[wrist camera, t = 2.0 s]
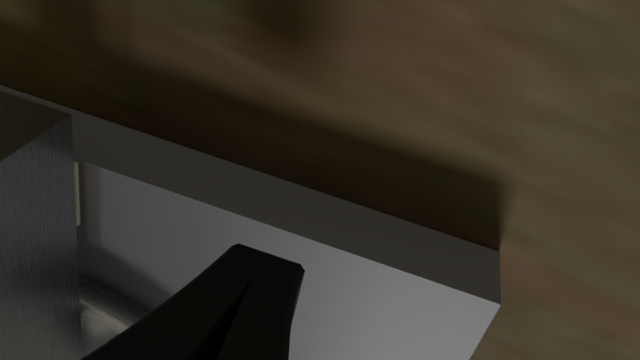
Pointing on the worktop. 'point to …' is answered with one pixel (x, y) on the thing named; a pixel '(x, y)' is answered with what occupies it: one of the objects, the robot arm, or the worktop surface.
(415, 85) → the worktop surface
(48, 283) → the dial
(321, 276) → the dial plate
